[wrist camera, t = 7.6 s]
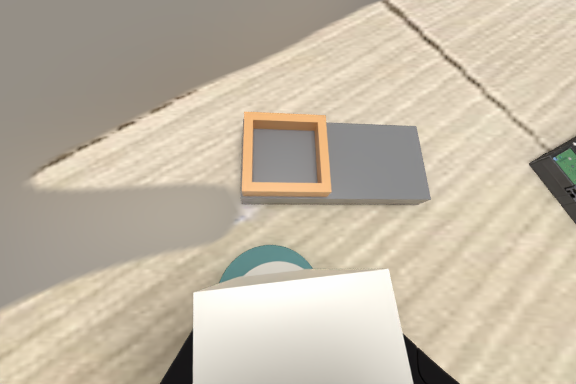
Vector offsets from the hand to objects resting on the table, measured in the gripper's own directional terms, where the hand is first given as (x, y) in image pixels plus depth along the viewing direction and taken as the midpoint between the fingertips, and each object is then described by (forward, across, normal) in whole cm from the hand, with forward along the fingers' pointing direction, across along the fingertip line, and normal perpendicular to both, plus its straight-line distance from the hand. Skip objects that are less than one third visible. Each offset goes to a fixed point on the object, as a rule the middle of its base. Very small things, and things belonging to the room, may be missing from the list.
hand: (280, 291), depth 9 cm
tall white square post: (+3, 0, +4) cm, 5 cm away
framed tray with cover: (+16, -7, +2) cm, 18 cm away
